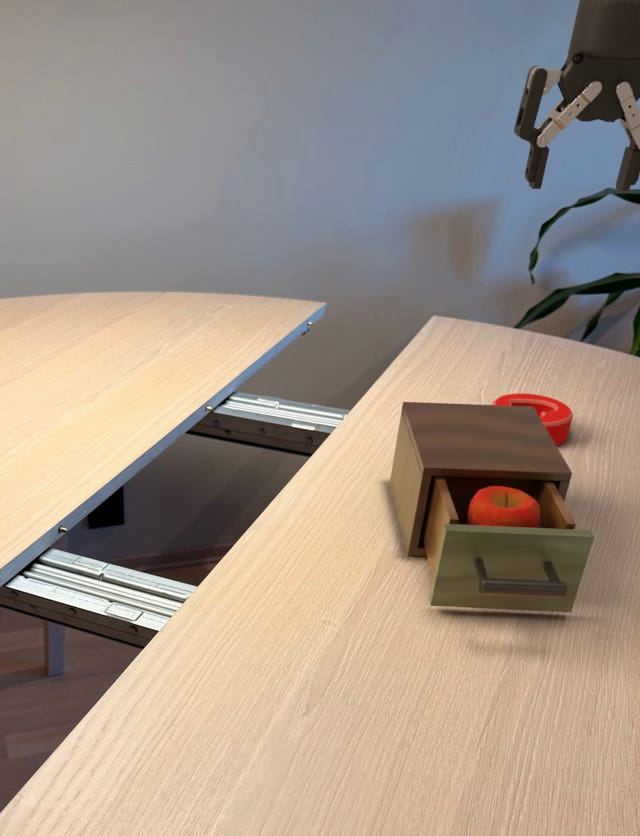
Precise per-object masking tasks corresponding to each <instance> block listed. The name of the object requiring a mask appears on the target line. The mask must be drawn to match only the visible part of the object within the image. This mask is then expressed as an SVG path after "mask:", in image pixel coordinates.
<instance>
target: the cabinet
mask: <svg viewBox="0 0 640 836" xmlns="http://www.w3.org/2000/svg"><path fill="white" fill-rule="evenodd" d="M432 476H453V477H478V478H502V479H527V480H551V481H553V483H554V485H555V486H556V488H557V490H558V492H559V494H560V496H561V497H562V499H563V501H564V502H565V501H566V497H567V494H568V491H569V488H570V487H569V486H570V483H571V480H572V476H573V472H572V470H571V468H570V466H569V465H568V463H567V461H566V460H565V458H564V456H563V454H562V453H561V451H560V450H559V448H558V445H556V444H555V443H554V441H553V439H552V438H551V436H550V434H549V432H548V431H547V429H546V427H545V426H544V424H543V422H542V421H541V419H540V417H539V415H538V414H537V412H536V410H535V409H534V407H531V406H503V405H492V404H476V403H475V404H473V403H472V404H471V403H449V402H447V403H446V402H445V403H443V402H423V401H422V402H421V401H403V402H402V405H401V412H400V417H399V424H398V430H397V436H396V443H395V449H394V455H393V460H392V467H391V474H390V479H389V486H390V490H391V491H390V492H391V495H392V499H393V502H394V505H395V506H394V507H395V510H396V514H397V518H398V523H399V526H400V530H401V534H402V539H403V542H404V546H405V550H406V554H407V557H427V554H426V550H425V547H424V543H423V540H422V536H421V530H422V524H423V519H424V514H425V509H426V503H427V498H428V493H429V488H430V482H431V477H432Z"/></svg>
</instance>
